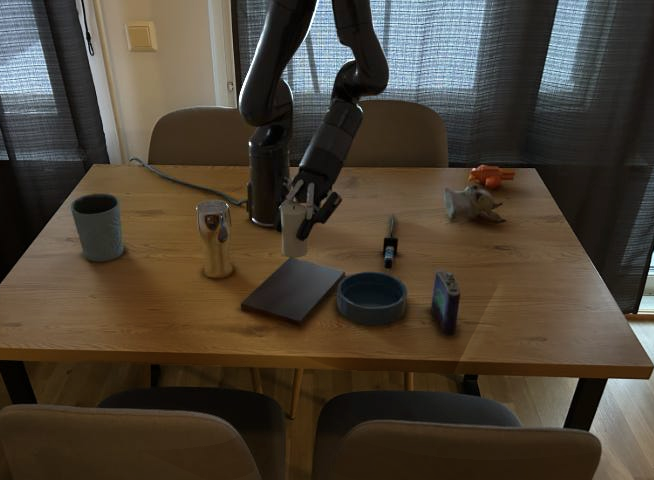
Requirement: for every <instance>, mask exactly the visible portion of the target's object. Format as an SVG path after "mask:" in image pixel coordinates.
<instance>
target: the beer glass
mask: <svg viewBox="0 0 654 480" xmlns="http://www.w3.org/2000/svg"><path fill="white" fill-rule="evenodd" d="M195 213H196V214H195V219H196V230H197V235H198V236H197V237H198V239H199V243H200V246H201V249H202V253H203V257H204V265H203V266H204V267H203V273H204V275H205V276H206V277H208V278H211V279H223V278H225V277H228V276H230V275H231V274H232V272H233V271H234V270H233V264H232V260H231V254H230V252H231V251H230V250H231V241H232V232H233V231H232V219H231V211H230V204H229V203H228V202H227V201H225V200H222V199H206V200H204V201H200V202H199V203H198V204H196V206H195Z"/></svg>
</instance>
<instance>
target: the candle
mask: <svg viewBox="0 0 654 480" xmlns="http://www.w3.org/2000/svg"><path fill="white" fill-rule="evenodd" d="M306 213H307V206H306V205H303V204H302V203H301V204H288V205H285V206H283V207H282V208H281V226H282V233H281V248H282V250H281V251H282V254H283V255H284V256H285V257H287V258H290V257H291V258H296V259H299V258H302V257H304V256H306V255H307V254H308V238H307V239H305V240H304V241H300V240H299V239H297V238H296V234H297V232H298V230H299V228H300V226H301V224H302V222H303V220H304V219H306Z"/></svg>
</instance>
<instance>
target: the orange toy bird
mask: <svg viewBox="0 0 654 480" xmlns="http://www.w3.org/2000/svg"><path fill="white" fill-rule="evenodd" d="M469 175H470V176H469V177H468V179H467V181H468V182H471V181H476V182H477V183H478V184H485V186H486V187H487V188H488V189H490V190H494V189H495V188H498V187H500V186H501V185H502V181H514V178H515V177H514V176H515V175H516V170H515V169H502V168H499V166H496V165H494V166H493V165H492V166H491V165H490V166H489V165H486V164H481V165H480V166H478V167H477V168H476V167H473V168H472V170H470V171H469Z"/></svg>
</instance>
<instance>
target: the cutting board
mask: <svg viewBox="0 0 654 480" xmlns="http://www.w3.org/2000/svg"><path fill="white" fill-rule="evenodd" d="M345 277H346V270H345V271H344V270H341V269H339V268H338V269H337V268H334V267H330V266H326V265H323V264H318V263H315V262H311V261H307V260H303V259H299V258H291V257H288V258H287V260H285V261H284V262H283V263H282V264H281V265H280V266H279V267H277V269H276V270H275V271H273V272H272V274H271V275H269V276H268V277H267V278H266V279H265V280H264V281H263V282H262V283H261V284H260V285H258V286H257V287H256V288H255V289H254V290H253V291H252V292H251V293H250V294H249V295H248V296H246V298H245V299H244V300H242V301H241V302H240V309H241V311H245V312H248V313H254V314H257V315H261V316H263V317H267V318H270V319H273V320H277V321H279V322H282V323H283V322H284V323H286V324H289V325H292V326H296V327H302V325H304V323H305V322H306V321H307V320H308V319H309V318H310V317H311V315H313V313H314V312H315V311H316V310H317V309H318V308H319V306H320V305H321V304H322V303H323V302H324V301H325V300H326V299H327V298H328V296H329V295H330V294H331V293H332V292H333V291H334V290H335V289H336V288H337V287H338V285H339V283H340V282H341V281H342V279H344V278H345Z"/></svg>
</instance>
